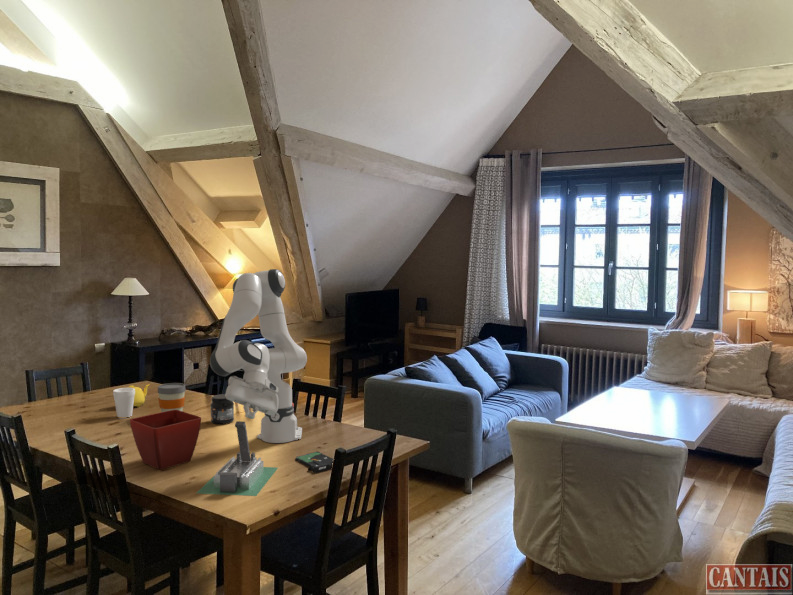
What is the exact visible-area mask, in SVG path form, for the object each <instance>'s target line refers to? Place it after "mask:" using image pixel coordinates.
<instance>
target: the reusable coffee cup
mask: <svg viewBox="0 0 793 595" xmlns="http://www.w3.org/2000/svg"><path fill="white" fill-rule="evenodd" d="M185 393H186V385H185V383H181V382H170V383H162V384H159V385H158V386H157V394H158V398H157V399H158V404H159V409H160V413H161V412H165V411H170V410H179V411H183V412H184V410H183V409H184V406H185V399H186V396H185Z"/></svg>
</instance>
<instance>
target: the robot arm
mask: <svg viewBox="0 0 793 595" xmlns="http://www.w3.org/2000/svg"><path fill="white" fill-rule="evenodd" d="M285 289H286V280H285V276H284V273H283V272H282V271H281V270H280V269H277V268H276V269H275V268H274V269H273V268H270V269H268V270H260V271H255V272H254V273H253V272H246V273H243V274H241V275H239V277H237V278H236V279H235V280H234V282H233V284H232V291H233V292H232V293H233V294H232V295H233V296H232V299H231V300H232V301H231V303H230V307H229V309H228V311H227V312H226V315H225V316H224V318H223V320H222V324H221V327H220V329H219V333H218V337H217V341H216V345H215V347H214V349H213V350H212V353H211V355H210V358H209V365H210V368H211V370H212V371H213V373H215V374H216V375H218V376H220V377H227V376H229V375H231V374H232V373H234V372H237V371H239V370H243V371H244V374H243V377H238V376H236V375H231V376H230V377H229V378H228V380H227V385H228V386H227V387H226V390H225V393H224V394H225V397H226V399H228V400H230V401H233V402H234V403H236V404H238V405H242V406H243V411H244V413H245V415H244V417H245V418H248V419H250V420H254V419H255V418H256V414H257V412H261V413H263V414H264V416H263V417H262V418H261V420H260V421H261V422H260V433H259V434H257V436H256V438H257V439H259V440H261V441H263V442H265V443H268V444H269V443H271V444H282V443H288V442H293V441H298V439H299V440H301V439H302V433H303V427H300V426H298V418H297V417H296V415H295V414H294V413H295V412H294V407H295V406H294V405H295V404H294V402H293V389H292V387H291V385H290V384H289V383H288V382H286V381H284V380H283V379H282V377H281V376H282V374H287V373H294V372H297V371H299V370H302V369H304V368H305V366H306V365H307V362H308V355H307V352H306V351H305V350H304V348H303V347H301V346H300V345H299V344H297V343H296V341H294V339H293V338H292V336H291V335H290V332H289V329H288V325H287V320H286V314H285V313H286V312H285V309H284V304H283V301H282V299H281V297H282V294H283V292H284V291H285ZM257 316H258V322H259V329H260V334H261V336H262V337H263V338H264V339H265V340H268V341H270V342H271V343H272V345H273V347H272V348H268V346H266V345H264V344H263V343H258V342H256V343H253V342H251V341H250V340H248V339H242V340H240V341H239V340H238V341H236V342H235V339H236V336H237V333H238V332H239V331H240V330H241V329H242V328H244V327H245V325H247V324H248V323H250V322H251V321H252V320H253V319H255V318H256V317H257ZM250 409H252V411H251V410H250Z"/></svg>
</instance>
